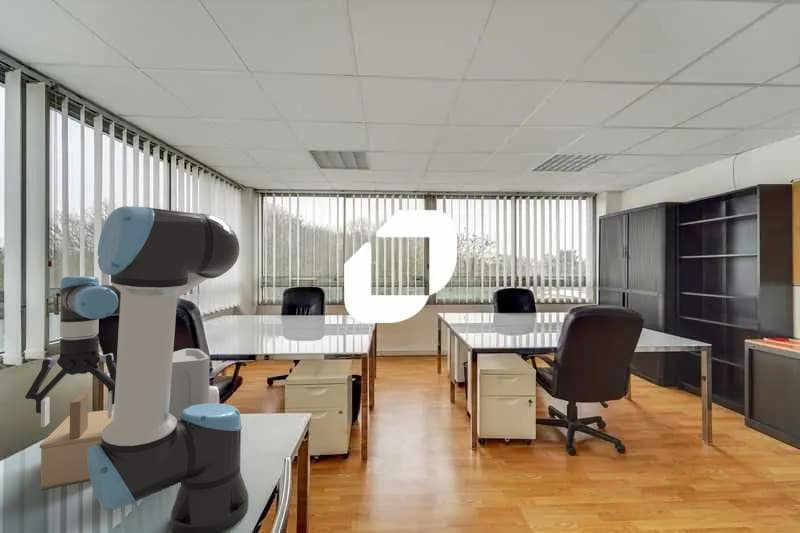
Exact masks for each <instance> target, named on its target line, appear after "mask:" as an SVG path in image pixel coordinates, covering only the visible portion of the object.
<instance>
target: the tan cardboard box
mask: <svg viewBox="0 0 800 533" xmlns="http://www.w3.org/2000/svg"><path fill="white" fill-rule="evenodd" d="M113 417H114V415H113ZM113 417H112V418H109V419H108V409H104V410H97V411H96V410H95V411H89V393H85V394H78V395H76V397H75V398H74V399H73V400H71V401H70V402H69V416H67V417H66V418H65V419H64V420H63V421H62V422H61V423H60V424H59V426H57V427H56V428H55V429H54V430H53V431H52V432H51V433H50V434H49V435H48V436H47V437H46V438H45V439H44V440H43V441H42V442H41V443H39V449H41V448H46V447H53V446H60V445H66V444H73V443H80V442H86V441H93V440H100V439H102V432H103V429H104V428H105V427H106V426H107V425H108V424H109V423H111V422H112V421H113Z"/></svg>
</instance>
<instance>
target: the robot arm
mask: <svg viewBox="0 0 800 533" xmlns="http://www.w3.org/2000/svg"><path fill="white" fill-rule="evenodd" d="M99 235H100V236H99V239H98V240H99V241H98V246H97V257H98V260H97V265H98V267H99V270H100V271H101V272H102V273H103V274H106V275H109V276H110V284H109V285H104V284H103V285H100V279H99V278H98V277H97V276H90V275H89V276H82V275H81V276H77V275H75V276H65V277H63V278H61V279H60V280H61V281H60V287H59V288H60V289H59V296H60V299H59V300H60V314H59V315H60V317H59V318H60V320H59V321H60V322H59V337H60V338H62V339H60V340H59V357H57V358H53V357H51V356H49V357H47V358H45V359H43V360H42V363H41V369H40V371H39V373H38V374H37V376H36V377H35V379H34V381H33V383H32V384H31V386H30V388H29V389H28V391H27V392H26V395H25V399H27V400H35V412H36V414H40V428H45V427H47V426H48V425H49V424H50V420H51V419H50V412H51V411H50V410H51V409H50V407H51V403H50V402H51V401H50V400H51V397H50V396H47V395H48V394H49V393H50V392H51V391H52V390H53V389H54V388H55V387H56V385H58V383H60V381H61V380H62V379H63V378H64V377H65V376H67V374H68V375H70V376H73V375H78V374H79V375H80V374H81V375H84V374H87V373H90V374H91V375H92V376H93V377H95V378H96V379H98V380H99V381H100V382H101V383H102V384H103V385H104V386H105V387H106V388H107V389H108V390H110V391H109V392H108V393H107V410H108V419H109V418H112V417H113V415H114V417H113V421H112V422H111V423H109V424H108V425H107V426H106V427H105V428H104V429H103V432H102V441H101V444H95V445H94V446H92V447H91V448H89V450H88V453H87V465H88V471H89V476H90V480H91V481H90V483H91V487H92V490H93V493H94V496H95V497H96V500H97V502H98V503H99V505H100V506H101V507H102V508H103V509H105V510H108V511H114V510H117V509H120V508H122V507H125V506H128V505H130V504H136V502H138V501H140V500H142V499H145V498H147V497H149V496H152V495H153V494H156V493H158V492H161V491H163V490H166V489H168V488H171V487H172V486H175V485H177V484H179V483H180V484H179V486H180V487H179V489H178V492H177V493H176V494H177V495H176V498H175V500H174V502H173V506H172V508H171V512H170V529H171V530H172V531H171V532H173V533H221V532H224V531H227V530H228V529H230V528H231V527H233V526H234V525H235V524H237V523H238V522H240V521H241V520H242V518H243V517H244V516H245V515H246V513H247V512H248V509H249V493H248V489H247V487H246V484H245V480H244V479H243V475H242V473H241V472H242V471H241V449H242V448H241V446H242V444H241V443H242V442H241V441H242V439H241V438H242V435H241V434H242V429H243V428H242V427H243V426H242V419H241V411H240V410H239V409H238V408H237V407H236V406H234V405H232V404H226V403H220V402H219V403H208V404H198V405H193V406H190V407H187V408H186V409H184V410H183V411H182V413H181V415H180V418H181V419H180V420H178V421H177V419H176V418H175V417H174V416H173V415H171V414H170V413H169V404H170V390H171V376H172V362H173V352H174V348H175V347H174V346H175V334H176V333H175V331H176V318H177V317H176V316H177V307H178V306H179V304H180V298H181V297H182V296H183V295H185V294H187V293H189V292H190V291H191V290H193V289H195V287H197V286H198V285H200V284H202V283H203V282H205V281H207V280H208V279H209V280H210V279H215V278H219V277H221V276H222V275H224V274H225V273H227V272H229V271H230V270H231V269H232V268H233V266H235V264H236V263H237V261H238V259H239V255H240V243H239V242H240V241H239V239H238V236H237V234H236V233H235V231H234V230H233V229H232V228H231V226H230V225H229V224H228V223H226V222H225V220H224V221H223V220H222V219H220V218H219V217H216V216H214V215H211V214H207V213H196V212H187V211H179V210H173V209H172V210H171V209H162V208H161V209H160V208H157V207H156V208H155V207H149V206H146V207H145V206H120V207H118V208H116V209H114V210H113V211H112V212H111V213H110V214H109V215H108V216H107V218H106V220H105V222H104V224H103V226H102V228H101V232H100V234H99ZM112 316H118V317H119V319H118V334H117V350H116V351H117V353H116V361H115V353H113V352H109V353H107V354H102V355H101V354H100V352H99V351H100V350H99V347H100V346H99V343H100V342H99V336H98V334H99V329H100V328H99V327H100V326H99V324H100V323H99V322H100V321H99V320H100V319H104V318H105V319H106V317H112ZM100 361H102V363H104V364H106V366H107V368H108V370H109V372H110V374H111V375H112V376H113V378H114V379H112V378H111V376H109V375H108V374H107V372H105V371H103V370H102V367H100V366H99V365H98V363H99V362H100ZM56 364H57V365H58V366H59V367H60V368H61V370H60V371H59V372H58V373H57V374H56V375H55V376H54V377H53V378H52V380H51V381H50V382H49V383H48V384H47V385H45V387H44V388H43V389H42V390H41V391H40V392H39V390H40V388H41V386H42V385H43V383H44V381H45V380H46V378H47V376H48V374H49V373H50V372H51V369H52V368H53V367H55V366H56ZM114 380H115V381H114Z"/></svg>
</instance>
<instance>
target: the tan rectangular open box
mask: <svg viewBox="0 0 800 533" xmlns="http://www.w3.org/2000/svg"><path fill="white" fill-rule="evenodd" d="M101 441H102V439H100V440H93V441H86V442H80V443H73V444H66V445H60V446H53V447H46V448H40V449H41V450H40V453H41V454H40V459H41V460H40V465H41V466H40V490H41V491H43V490H48V489H49V490H50V489H54V488H59V487H64V486H69V485H70V486H71V485H76V484H79V483H80V484H81V483H85V482H86V483H87V482H91V480H90V476H89V471H88V465H87V453H88V450H89V448H91V447H92V446H94V445H95V444H101Z"/></svg>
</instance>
